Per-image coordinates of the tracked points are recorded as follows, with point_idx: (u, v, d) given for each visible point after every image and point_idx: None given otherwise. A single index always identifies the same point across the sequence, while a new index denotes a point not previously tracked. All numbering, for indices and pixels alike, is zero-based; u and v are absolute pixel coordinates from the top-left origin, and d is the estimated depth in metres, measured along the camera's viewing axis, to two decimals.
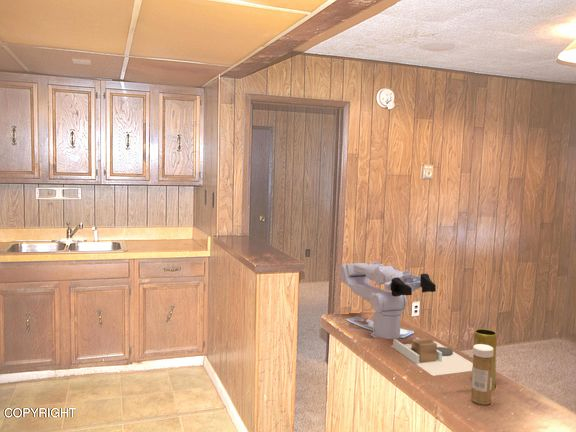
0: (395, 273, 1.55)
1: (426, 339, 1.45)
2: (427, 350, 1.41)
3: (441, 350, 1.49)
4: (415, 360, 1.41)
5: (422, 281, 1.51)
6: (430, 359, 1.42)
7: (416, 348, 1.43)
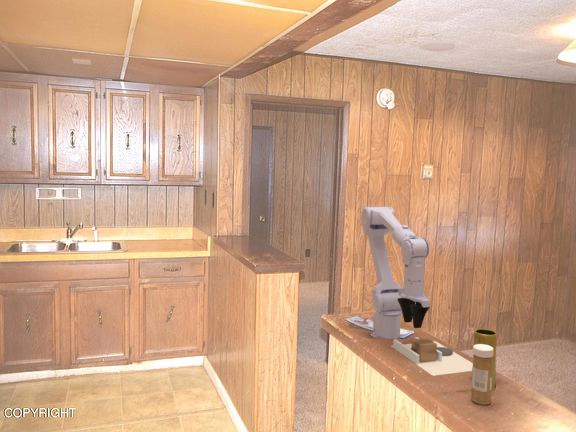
0: None
1: (426, 339, 1.45)
2: (427, 350, 1.41)
3: (441, 350, 1.49)
4: (415, 360, 1.41)
5: None
6: (430, 359, 1.42)
7: (416, 348, 1.43)
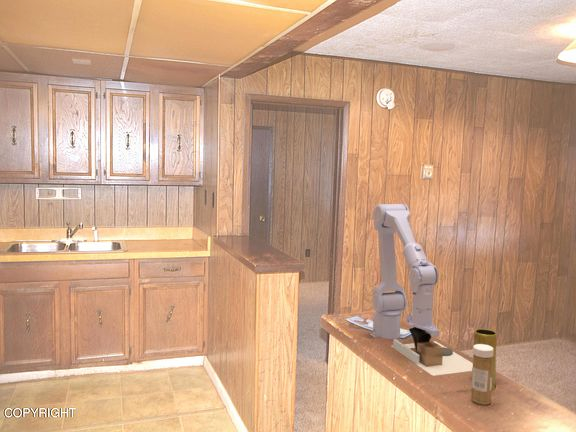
0: None
1: (432, 343, 1.43)
2: (433, 354, 1.39)
3: None
4: (415, 360, 1.41)
5: None
6: (436, 363, 1.39)
7: (422, 352, 1.40)
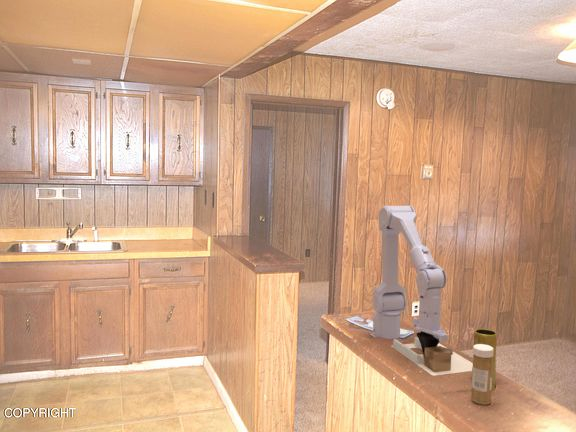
0: (419, 313, 1.41)
1: (440, 347, 1.39)
2: (441, 359, 1.35)
3: None
4: (415, 360, 1.41)
5: None
6: (444, 368, 1.35)
7: (430, 357, 1.36)
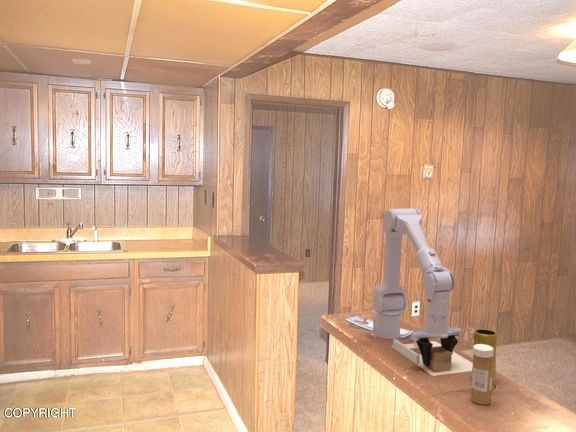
0: (437, 320, 1.34)
1: (440, 348, 1.39)
2: (441, 359, 1.35)
3: None
4: (415, 360, 1.41)
5: (446, 341, 1.38)
6: (445, 368, 1.35)
7: (430, 357, 1.36)
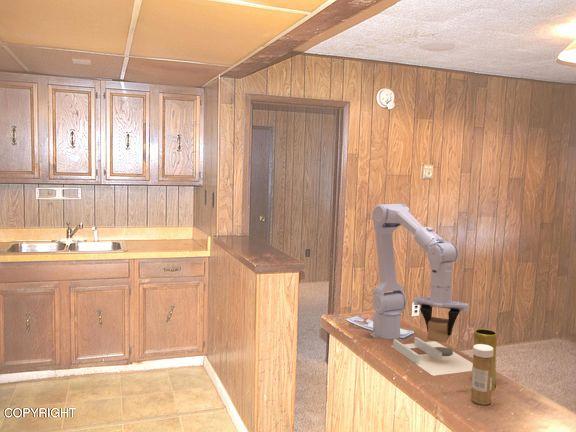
0: (433, 289, 1.40)
1: (445, 320, 1.42)
2: (435, 329, 1.40)
3: (441, 350, 1.49)
4: (415, 360, 1.41)
5: None
6: (439, 339, 1.39)
7: None
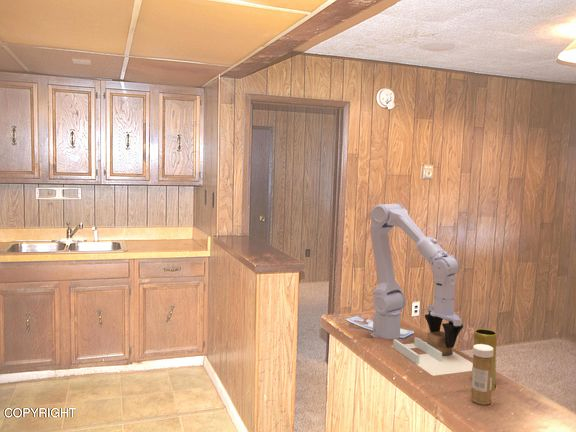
0: None
1: None
2: (431, 340, 1.48)
3: None
4: (415, 360, 1.41)
5: None
6: None
7: None
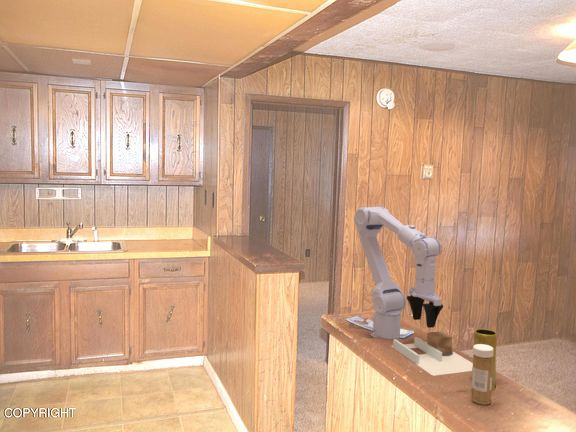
0: (415, 280, 1.51)
1: (446, 335, 1.47)
2: (431, 340, 1.48)
3: None
4: (415, 360, 1.41)
5: None
6: None
7: None
